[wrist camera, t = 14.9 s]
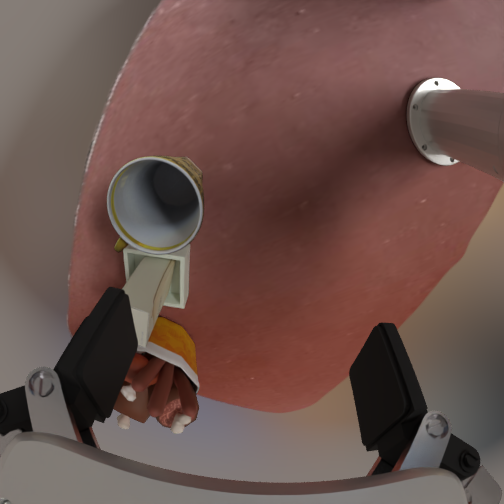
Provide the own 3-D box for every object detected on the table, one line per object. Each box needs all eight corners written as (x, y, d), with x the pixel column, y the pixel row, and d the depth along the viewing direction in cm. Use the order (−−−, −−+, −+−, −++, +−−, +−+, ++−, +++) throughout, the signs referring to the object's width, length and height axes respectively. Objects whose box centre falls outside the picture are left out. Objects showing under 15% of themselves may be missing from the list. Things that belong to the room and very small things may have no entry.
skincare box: (169, 290, 40) (146, 350, 30) (142, 281, 40) (113, 338, 29) (177, 256, 38) (151, 314, 27) (147, 246, 37) (112, 301, 26)
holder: (190, 244, 38) (184, 257, 35) (188, 294, 42) (184, 308, 39) (132, 236, 37) (122, 248, 34) (136, 285, 41) (128, 298, 38)
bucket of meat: (179, 377, 53) (162, 460, 36) (109, 339, 48) (73, 421, 31) (233, 327, 45) (224, 436, 28) (145, 275, 41) (94, 380, 23)
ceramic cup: (177, 126, 30) (147, 134, 21) (233, 182, 34) (225, 210, 25) (116, 197, 34) (78, 227, 26) (167, 245, 38) (144, 287, 29)
